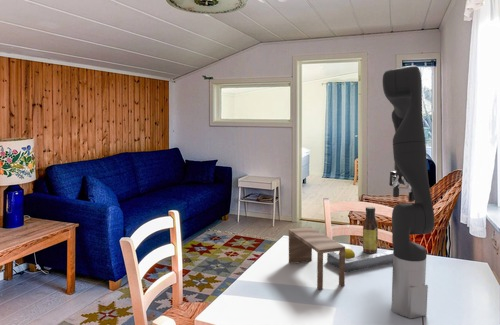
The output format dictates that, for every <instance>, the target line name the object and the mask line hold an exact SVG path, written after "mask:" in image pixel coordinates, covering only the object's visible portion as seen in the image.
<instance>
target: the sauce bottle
mask: <svg viewBox="0 0 500 325" xmlns="http://www.w3.org/2000/svg"><path fill="white" fill-rule="evenodd" d="M362 224H363V225H362V250H363V252H364V253H365V254H369V255H371V254H376V253H378V249H379V248H378V247H379V246H378V244H379V243H378V241H379V240H378V239H379V237H378V236H379V230H378V229H379V225H378V221H377V219H376V207H374V206H366V207H365V219H364V220H363V222H362Z"/></svg>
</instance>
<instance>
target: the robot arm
mask: <svg viewBox="0 0 500 325" xmlns="http://www.w3.org/2000/svg"><path fill="white" fill-rule="evenodd" d="M422 85H423V84H422V74H421V71H420V68H419V66H417V65H407V66H403V67H398V68H392V69H389V70H386V71H384V72H383V75H382V89H383V93H384V95H385V97H386V99H387V100H388V102H390V105H391V104H392V106H393V110H392V112H391V121H392V124H393V127H394V132H395V133H394V135H393V138H392V152H393V153H392V154H393V160H394V167H393V168H394V171H392V170H391V171H390V172H389V173H390V174H389V186H390V187H392V195H393V198H399V197H400V187H401V185H405V187H406V188H407V190H408V191H409V192H408V202H409V203H408V202H407V203H397V204H395V205H394V207H393V209H392V212H391V226H392V227H391V230H392V231H391V233H392V236H391V237H392V240H391V243H392V250H393V263H392V280H391V309H392V311H393V312H394V313H396V314H397V315H400V316H403V317H406V318H408V319H414V318H415V319H416V318H420V317H425V316H426V317H427V315H428V314H427V310H428V292H429V290H428V288H429V285H428V284H426V277H427V276H426V273H427V257H428V255H427V252H428V251H427V248H426V247H425V246H423V245H421V244H419V243H418V242H417V243H416V242H413V241H411V239H410V236H411V235H427V234H431V233H433V231H434V228H435V212H434V206H433V204H434V203H433V199H432V195H431V188H430V184H429V173H428V162H427V144H426V135H425V129H424V128H425V127H424V118H423V93H422V92H423V91H422V90H423V89H422V88H423V87H422Z"/></svg>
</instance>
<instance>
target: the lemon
mask: <svg viewBox="0 0 500 325" xmlns="http://www.w3.org/2000/svg"><path fill="white" fill-rule="evenodd" d="M355 256H356V254H355V252H354V251H353V249H350V248H345V258H346V259H351V258H356V257H355Z"/></svg>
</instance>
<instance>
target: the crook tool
mask: <svg viewBox="0 0 500 325" xmlns="http://www.w3.org/2000/svg"><path fill="white" fill-rule="evenodd" d="M326 254H327V257H326V258H327V260H326V261H327V263H328V264H329V265H331V266H333V267H335V268H336V269H338V270H339V253H337V252H336V251H335V252H328V253H326ZM390 264H393V249H392V250H387V251H381V252H376V253H374V254H368V255H363V256H362V255H361V256H356V257H355V258H351V259H346V258H345V274H346V273H347V274H348V273H352V272H358V271H362V270H365V269H371V268H374V267H380V266H384V265H390Z"/></svg>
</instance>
